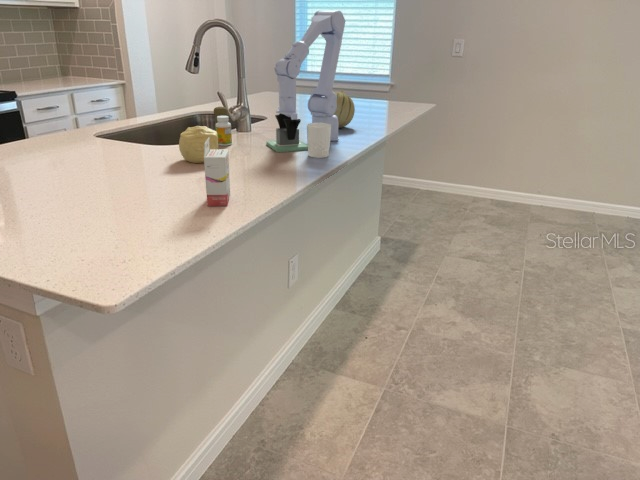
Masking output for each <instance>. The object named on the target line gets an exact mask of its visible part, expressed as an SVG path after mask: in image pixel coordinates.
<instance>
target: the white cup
mask: <svg viewBox="0 0 640 480" xmlns="http://www.w3.org/2000/svg"><path fill="white" fill-rule="evenodd" d="M330 137H331V125H330V124H327V123H312V122H310V123H308V124H306V139H307V140H306V141H307V142H306V143H307V145H308V150H307V153H308V154H307V155H308V157H310V158H315V159H323V158H324V159H325V158H327V157H329V155H330V147H331V141H330Z"/></svg>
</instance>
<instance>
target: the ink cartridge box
mask: <svg viewBox="0 0 640 480" xmlns="http://www.w3.org/2000/svg"><path fill="white" fill-rule="evenodd" d="M209 140H210V138H208V139H207V140H206V142H205V143H204V163H203V165H204V175H205V176H204V177H205V178H204V179H205V190H206V192H205V193H206V201H207V202H206V203H207V207H228V205H229V200H230V197H231V187H230V186H231V185H230V184H231V183H230V162H229V161H230V159H229V158H230V157H229V152H230V151H229V150H230V149H228V148H225V149H224V148H223V149H222V148H221V149H220V148H218V149H210V150H209ZM206 147H207V148H206ZM209 205H210V206H209Z"/></svg>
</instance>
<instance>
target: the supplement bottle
mask: <svg viewBox="0 0 640 480" xmlns="http://www.w3.org/2000/svg"><path fill="white" fill-rule="evenodd" d="M229 118H230V117H229V115H227V116H217V121H218V123H216V125H215V124H214V127H215V126H216V132H217V135H218V146H221V147H228V146H232V144H233V137H232V124H231V122H229V120H230V119H229Z"/></svg>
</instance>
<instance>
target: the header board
mask: <svg viewBox="0 0 640 480" xmlns="http://www.w3.org/2000/svg"><path fill="white" fill-rule="evenodd" d="M266 146H267V147H269V148H270V149H272V151H274V152H276V153H283V152H284V153H285V152H286V153H287V152H299V151H308V143H305V142H304V141H302V140H300V139H299V144H292V145H279V144H277V143H276V140H266Z"/></svg>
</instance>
